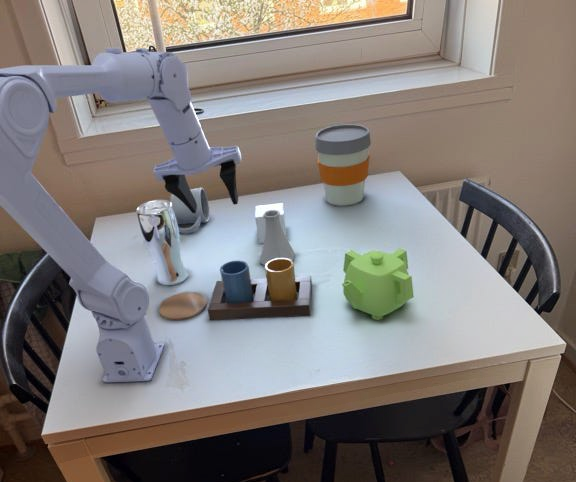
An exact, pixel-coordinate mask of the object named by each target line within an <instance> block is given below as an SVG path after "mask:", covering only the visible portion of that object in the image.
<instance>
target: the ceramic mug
mask: <svg viewBox="0 0 576 482" xmlns="http://www.w3.org/2000/svg"><path fill="white" fill-rule="evenodd" d="M190 190H191V192H192V194H193V196H194V198H195V201H196V203H197V210H196V213H192V212H191V211H190V210H189V208H188V207H187V206H186V205H185V204H184V203H183V202H182V201H181V200H180V199H179V198H177V197H176V196H175V195H173V194H171V193H170V195H169V196H168V201H170V202H171V205H172V208H173V211H174V214H175V217H176V220H177V224H178V225H186V224H188V225H189V224H193V225H191V226H190V227H188V228H187V227H186V228H182V227H180V226H178V229H179V233H181V234H185V235H187V234H192V233H194V232H196V231H197V230H198V229H199V228H200V226H201V223H207V222H209V221H210V204H209V199H208V196H207V193H206V191H205V189H204V188H203V187H197V188H190Z"/></svg>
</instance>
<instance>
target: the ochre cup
mask: <svg viewBox="0 0 576 482" xmlns="http://www.w3.org/2000/svg"><path fill="white" fill-rule="evenodd" d="M293 261H294V260H293ZM293 261H292V260H290V259H288V258H276V259H272V260H270V261H268V262H267V263H266V264H265V265H264V271H265V278H266V279H267V286H268V293H269V297H268V301H279V300H298V292H297V290H296V280H295V277H296V273H295V262H293Z"/></svg>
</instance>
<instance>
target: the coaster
mask: <svg viewBox="0 0 576 482" xmlns="http://www.w3.org/2000/svg"><path fill="white" fill-rule="evenodd" d="M207 305H208V300H207V299H206V296H205V295H203V294H202V293H199V292H193V291H185V292H180V293H176V294H173V295H171V296H169V297H167V298H165V299H164V300H163V301H161V303H160V304H159V306H158V314H159V315H160V316H161V317H162V318H163V319H165V320H169V321H183V320H189V319H191V318H193V317H196V316H198V315H199V314H201V313H202V312H203V311H204V310H205V309H206V308H207Z"/></svg>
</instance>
